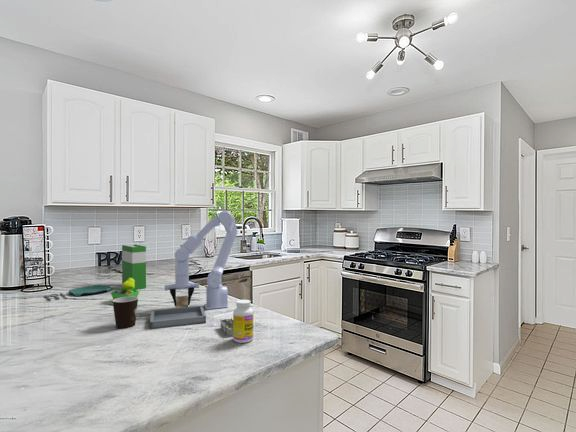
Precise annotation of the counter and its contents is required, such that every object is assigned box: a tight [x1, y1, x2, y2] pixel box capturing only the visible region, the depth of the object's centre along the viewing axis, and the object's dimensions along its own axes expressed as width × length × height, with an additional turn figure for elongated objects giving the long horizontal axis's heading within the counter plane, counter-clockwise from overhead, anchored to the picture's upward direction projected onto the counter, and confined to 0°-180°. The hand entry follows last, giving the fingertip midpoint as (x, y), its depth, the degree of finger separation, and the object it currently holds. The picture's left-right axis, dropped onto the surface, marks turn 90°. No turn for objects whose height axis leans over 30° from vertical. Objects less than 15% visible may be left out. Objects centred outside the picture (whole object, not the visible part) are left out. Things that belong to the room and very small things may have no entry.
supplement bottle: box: [232, 299, 254, 344], centre depth 109 cm, size 7×7×13 cm
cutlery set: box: [43, 284, 112, 302], centre depth 175 cm, size 20×30×2 cm, turn 134°
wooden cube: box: [175, 294, 189, 308], centre depth 146 cm, size 5×5×5 cm
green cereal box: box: [121, 244, 147, 291], centre depth 191 cm, size 18×7×24 cm, turn 43°
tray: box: [149, 305, 207, 330], centre depth 131 cm, size 20×16×2 cm
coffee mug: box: [112, 297, 139, 330], centre depth 124 cm, size 12×9×10 cm
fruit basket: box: [110, 278, 140, 301], centre depth 158 cm, size 11×9×11 cm
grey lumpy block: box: [219, 317, 233, 337], centre depth 118 cm, size 11×8×4 cm
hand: (182, 305), depth 146 cm, fingers closed on wooden cube, 5 cm apart
